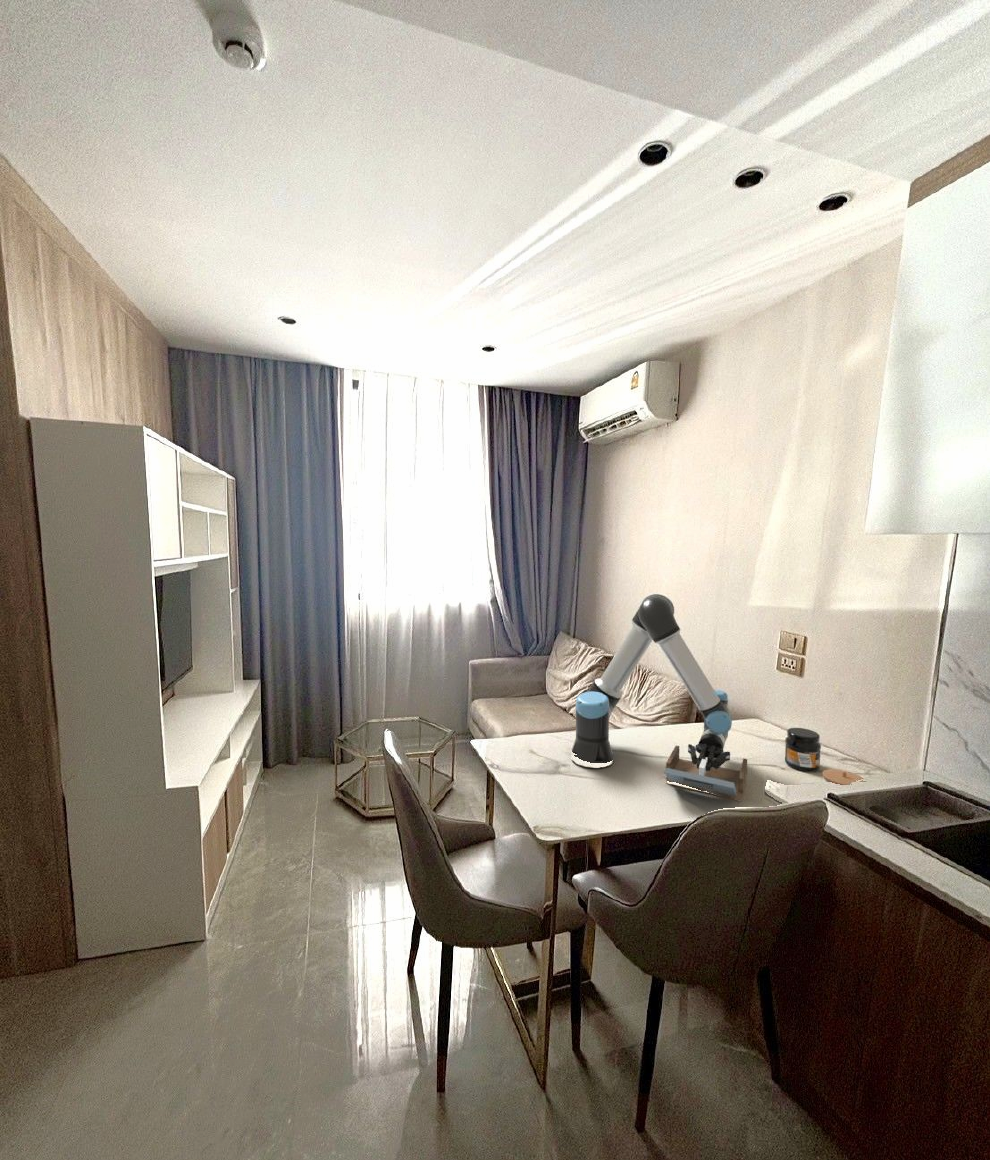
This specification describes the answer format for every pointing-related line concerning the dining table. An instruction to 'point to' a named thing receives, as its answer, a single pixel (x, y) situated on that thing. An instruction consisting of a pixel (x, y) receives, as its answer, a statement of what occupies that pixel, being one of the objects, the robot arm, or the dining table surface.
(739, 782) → the cart bed
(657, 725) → the dining table surface
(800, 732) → the supplement container
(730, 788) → the tailgate
